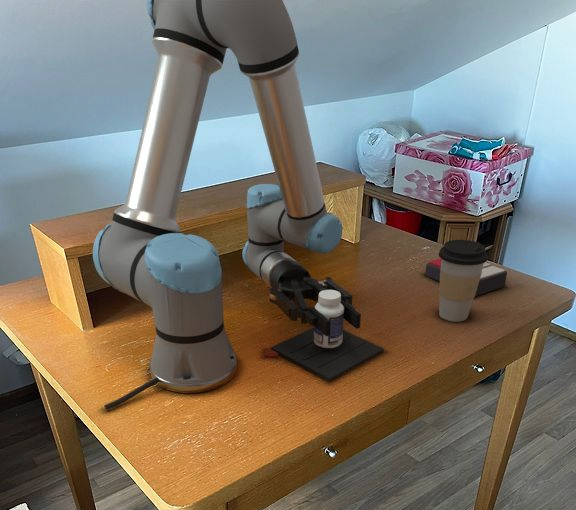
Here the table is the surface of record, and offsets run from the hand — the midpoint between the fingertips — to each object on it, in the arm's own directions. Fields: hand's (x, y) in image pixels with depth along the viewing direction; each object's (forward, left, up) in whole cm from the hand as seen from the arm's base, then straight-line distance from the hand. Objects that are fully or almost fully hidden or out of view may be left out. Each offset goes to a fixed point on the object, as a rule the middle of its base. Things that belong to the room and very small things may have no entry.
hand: (343, 325), depth 104 cm
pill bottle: (+2, +5, -6) cm, 8 cm away
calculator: (+49, +5, -8) cm, 49 cm away
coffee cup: (+32, -3, -8) cm, 33 cm away
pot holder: (0, +5, -8) cm, 10 cm away
